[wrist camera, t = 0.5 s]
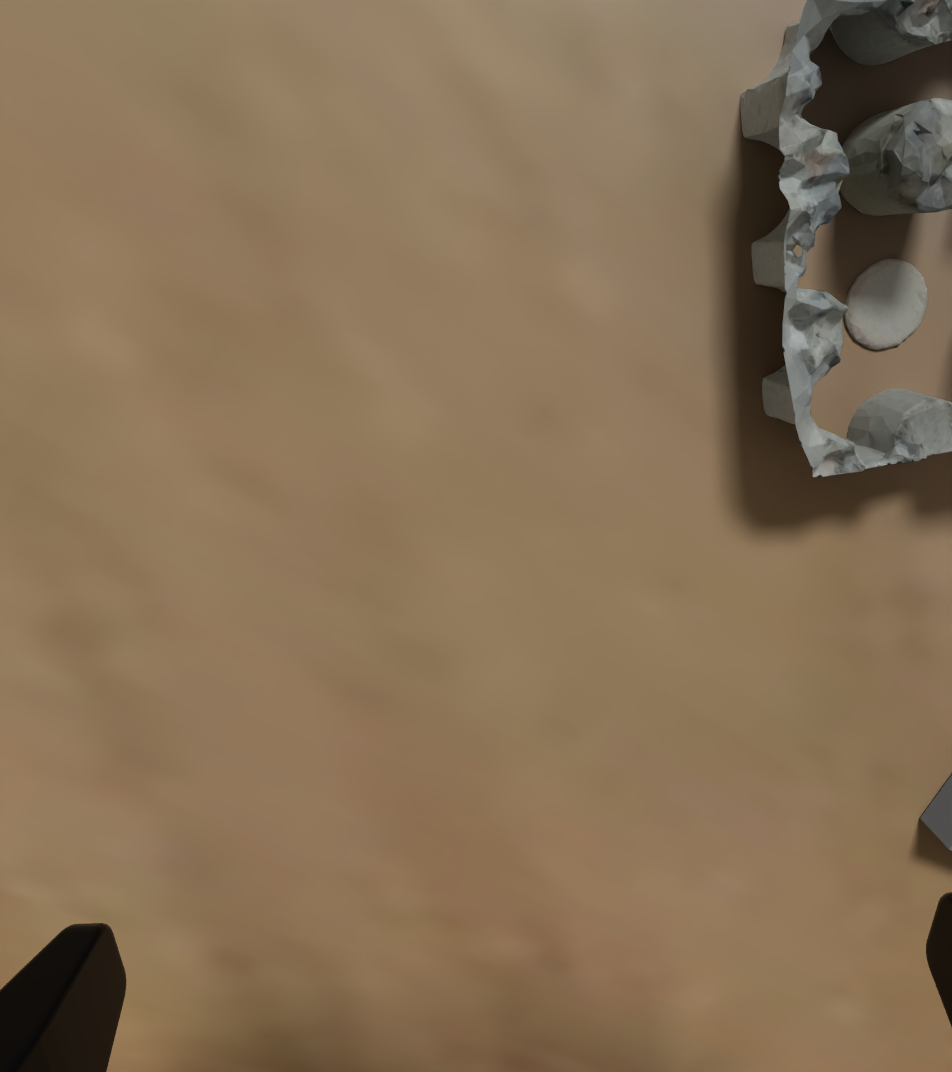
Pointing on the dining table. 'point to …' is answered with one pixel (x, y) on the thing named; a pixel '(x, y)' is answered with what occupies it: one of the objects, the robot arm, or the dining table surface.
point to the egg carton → (874, 189)
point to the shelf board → (941, 815)
